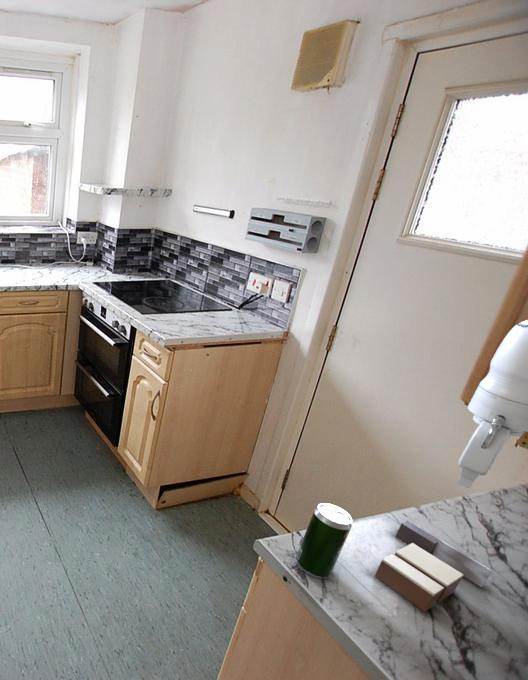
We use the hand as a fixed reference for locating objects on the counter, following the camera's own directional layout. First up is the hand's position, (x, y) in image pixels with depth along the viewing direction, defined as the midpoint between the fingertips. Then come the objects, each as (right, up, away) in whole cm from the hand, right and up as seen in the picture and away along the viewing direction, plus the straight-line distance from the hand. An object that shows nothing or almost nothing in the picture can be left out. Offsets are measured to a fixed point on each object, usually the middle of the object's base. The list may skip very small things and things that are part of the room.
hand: (469, 476), depth 83 cm
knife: (-4, -16, +2) cm, 17 cm away
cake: (-12, -17, -3) cm, 21 cm away
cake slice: (-17, -18, -5) cm, 25 cm away
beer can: (-30, -16, -2) cm, 34 cm away
